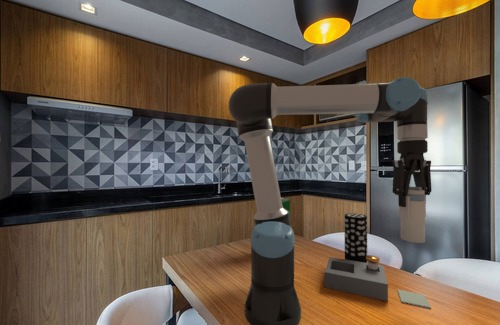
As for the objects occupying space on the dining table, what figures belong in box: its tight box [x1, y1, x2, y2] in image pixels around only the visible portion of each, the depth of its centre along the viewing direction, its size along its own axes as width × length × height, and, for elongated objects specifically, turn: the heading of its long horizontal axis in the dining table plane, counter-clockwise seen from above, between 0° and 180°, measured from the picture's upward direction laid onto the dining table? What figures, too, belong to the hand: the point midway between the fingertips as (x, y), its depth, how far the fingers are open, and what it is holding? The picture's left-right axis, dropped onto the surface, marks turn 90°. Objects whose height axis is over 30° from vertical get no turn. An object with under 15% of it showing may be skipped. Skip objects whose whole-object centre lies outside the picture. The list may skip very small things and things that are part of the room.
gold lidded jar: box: [366, 254, 380, 272], centre depth 79 cm, size 4×4×6 cm
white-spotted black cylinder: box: [344, 212, 368, 263], centre depth 93 cm, size 8×8×20 cm
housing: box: [324, 256, 389, 302], centre depth 79 cm, size 14×18×5 cm
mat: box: [397, 289, 432, 310], centre depth 70 cm, size 7×7×1 cm
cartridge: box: [400, 185, 426, 244], centre depth 70 cm, size 6×6×16 cm
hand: (412, 216), depth 70 cm, fingers closed on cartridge, 6 cm apart
